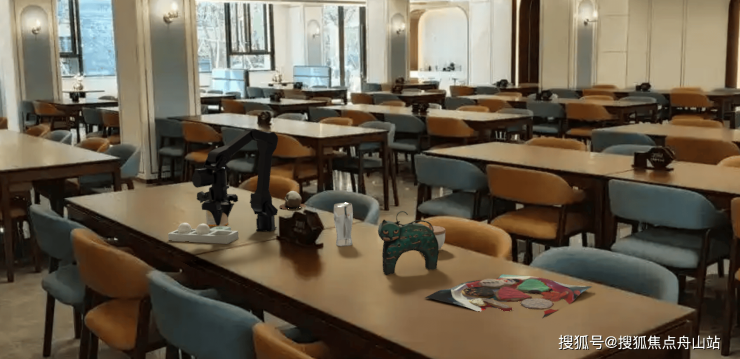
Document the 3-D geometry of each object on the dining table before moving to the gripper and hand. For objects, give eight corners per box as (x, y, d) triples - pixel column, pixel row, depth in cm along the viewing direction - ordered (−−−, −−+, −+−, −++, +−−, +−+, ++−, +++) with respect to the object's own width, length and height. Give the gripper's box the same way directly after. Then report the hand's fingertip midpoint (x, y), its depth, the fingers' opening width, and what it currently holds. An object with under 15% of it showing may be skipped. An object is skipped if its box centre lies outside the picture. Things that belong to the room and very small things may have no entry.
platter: (491, 273, 259) (491, 267, 258) (592, 293, 236) (593, 287, 235) (424, 300, 233) (424, 294, 233) (531, 325, 210) (531, 319, 210)
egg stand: (231, 231, 325) (230, 226, 325) (223, 235, 319) (223, 230, 319) (216, 230, 327) (216, 226, 327) (209, 234, 321) (208, 229, 321)
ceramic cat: (381, 276, 257) (380, 214, 254) (376, 271, 263) (374, 210, 260) (440, 270, 262) (440, 209, 259) (434, 265, 268) (433, 205, 265)
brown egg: (230, 224, 312) (229, 211, 311) (224, 227, 307) (223, 214, 306) (218, 224, 313) (217, 210, 312) (211, 227, 308) (211, 213, 308)
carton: (238, 238, 314) (237, 222, 313) (227, 243, 305) (226, 227, 304) (180, 235, 321) (179, 219, 320) (168, 240, 313) (167, 224, 312)
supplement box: (228, 223, 340) (227, 193, 338) (225, 226, 335) (223, 195, 333) (209, 224, 341) (207, 193, 338) (206, 226, 336) (204, 195, 334)
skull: (273, 204, 373) (285, 186, 376) (289, 217, 378) (301, 199, 380) (283, 208, 363) (296, 189, 365) (299, 221, 368) (312, 202, 370)
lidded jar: (443, 254, 281) (443, 228, 280) (413, 253, 284) (412, 227, 282) (447, 247, 292) (446, 221, 290) (417, 246, 294) (417, 220, 292)
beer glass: (351, 247, 295) (350, 206, 293) (332, 246, 297) (331, 206, 294) (355, 242, 302) (354, 202, 300) (337, 242, 303) (336, 202, 301)
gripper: (211, 179, 319) (214, 218, 321) (187, 187, 301) (190, 228, 304) (237, 179, 315) (239, 219, 318) (214, 188, 298) (217, 229, 300)
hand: (221, 224), depth 310 cm, fingers closed on brown egg, 5 cm apart
